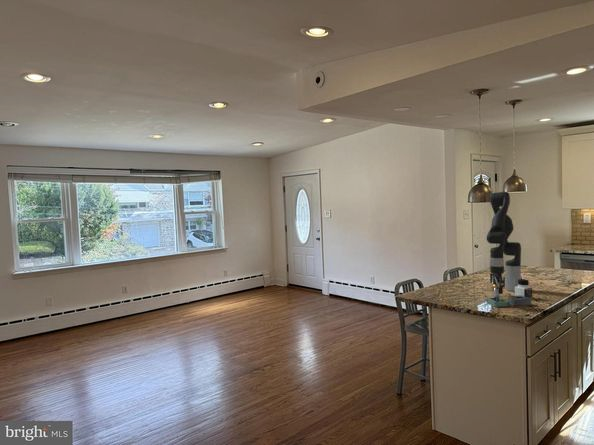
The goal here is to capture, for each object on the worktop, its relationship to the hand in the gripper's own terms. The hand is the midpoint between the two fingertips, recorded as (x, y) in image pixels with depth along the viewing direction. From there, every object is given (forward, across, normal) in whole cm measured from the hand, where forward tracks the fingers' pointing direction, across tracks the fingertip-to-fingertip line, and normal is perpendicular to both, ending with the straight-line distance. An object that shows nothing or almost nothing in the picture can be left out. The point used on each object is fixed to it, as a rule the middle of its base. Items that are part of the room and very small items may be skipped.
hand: (497, 292), depth 248 cm
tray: (+8, 0, 0) cm, 8 cm away
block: (+8, 0, +13) cm, 15 cm away
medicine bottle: (+8, -14, +23) cm, 28 cm away
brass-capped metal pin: (+7, -2, 0) cm, 7 cm away
